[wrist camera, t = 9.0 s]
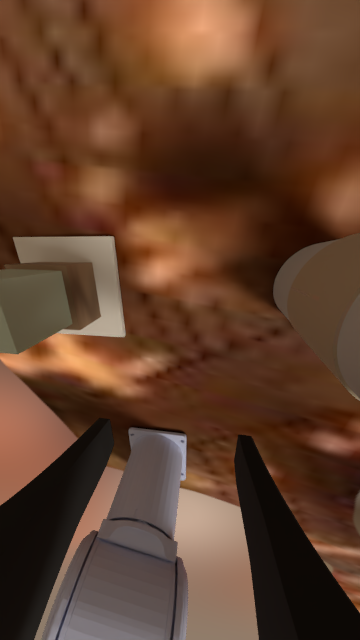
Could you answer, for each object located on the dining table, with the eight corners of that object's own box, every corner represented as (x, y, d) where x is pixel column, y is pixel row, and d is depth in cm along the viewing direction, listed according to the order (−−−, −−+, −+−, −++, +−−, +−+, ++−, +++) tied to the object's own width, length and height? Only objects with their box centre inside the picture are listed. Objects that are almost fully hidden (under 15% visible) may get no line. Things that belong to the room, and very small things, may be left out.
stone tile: (125, 335, 20) (123, 337, 20) (44, 330, 21) (41, 332, 21) (113, 236, 17) (111, 236, 16) (17, 237, 18) (12, 237, 17)
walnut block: (101, 316, 19) (79, 330, 16) (53, 314, 20) (24, 326, 17) (92, 262, 17) (65, 265, 14) (40, 261, 18) (3, 264, 15)
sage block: (72, 323, 16) (17, 354, 11) (26, 320, 16) (-44, 348, 12) (61, 270, 14) (-8, 280, 10) (10, 268, 15) (-79, 277, 10)
